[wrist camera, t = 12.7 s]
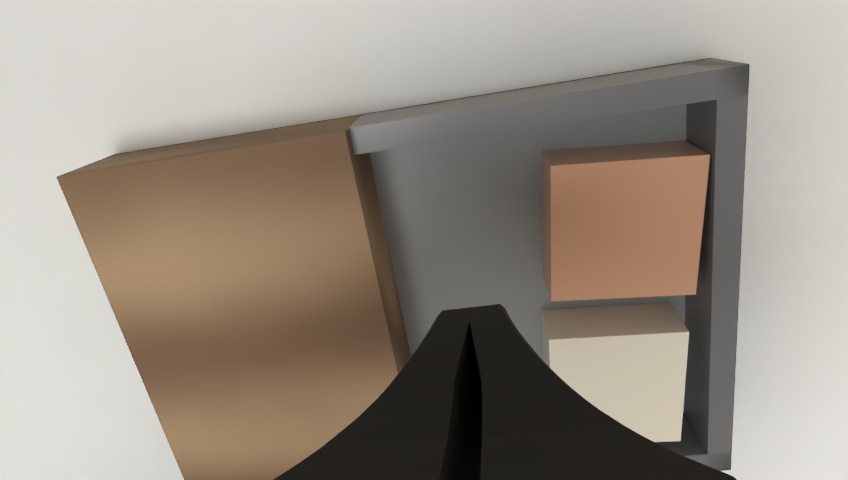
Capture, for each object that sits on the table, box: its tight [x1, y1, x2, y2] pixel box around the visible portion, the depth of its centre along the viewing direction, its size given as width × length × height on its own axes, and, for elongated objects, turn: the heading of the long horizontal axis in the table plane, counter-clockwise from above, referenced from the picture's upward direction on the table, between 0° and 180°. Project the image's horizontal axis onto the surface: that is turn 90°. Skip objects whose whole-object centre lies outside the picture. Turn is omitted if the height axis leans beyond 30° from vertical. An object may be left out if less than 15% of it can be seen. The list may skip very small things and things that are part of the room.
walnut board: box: [57, 114, 411, 480], centre depth 20 cm, size 14×9×3 cm, turn 10°
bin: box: [348, 58, 749, 471], centre depth 19 cm, size 14×11×2 cm
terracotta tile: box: [542, 140, 710, 301], centre depth 18 cm, size 4×4×2 cm
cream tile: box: [541, 302, 689, 442], centre depth 20 cm, size 4×4×2 cm
